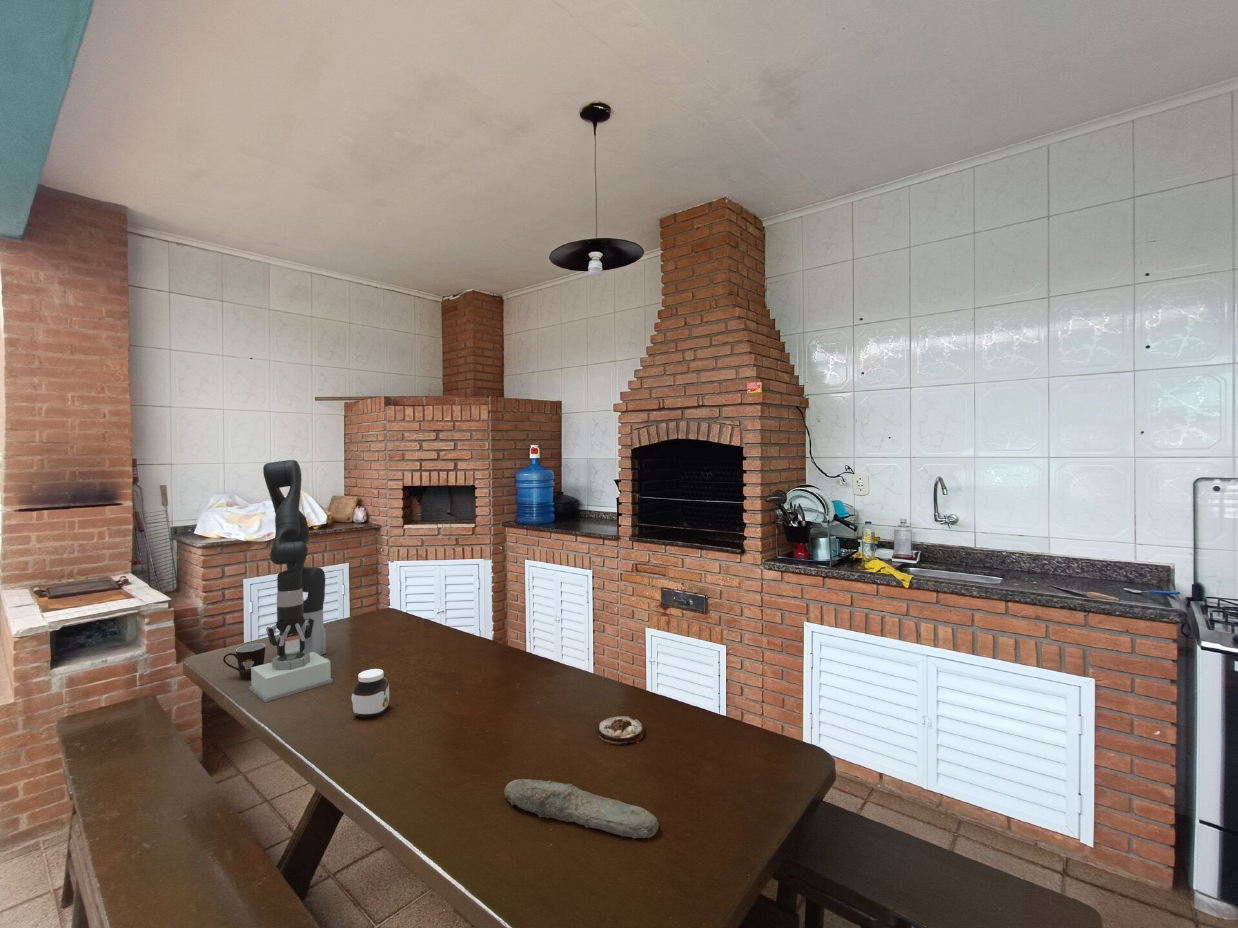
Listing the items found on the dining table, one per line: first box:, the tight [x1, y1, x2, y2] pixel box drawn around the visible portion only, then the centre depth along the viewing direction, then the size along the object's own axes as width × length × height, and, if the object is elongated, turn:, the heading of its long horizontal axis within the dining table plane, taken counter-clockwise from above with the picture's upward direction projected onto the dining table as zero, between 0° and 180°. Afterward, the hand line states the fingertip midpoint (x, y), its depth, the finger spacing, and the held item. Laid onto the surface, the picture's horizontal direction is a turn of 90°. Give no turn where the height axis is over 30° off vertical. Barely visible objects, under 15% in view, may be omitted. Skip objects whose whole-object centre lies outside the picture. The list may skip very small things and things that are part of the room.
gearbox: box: [248, 651, 334, 703], centre depth 187 cm, size 22×15×10 cm
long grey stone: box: [503, 778, 660, 839], centre depth 120 cm, size 35×5×10 cm
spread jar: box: [351, 668, 390, 719], centre depth 168 cm, size 12×11×12 cm
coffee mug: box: [222, 642, 267, 681], centre depth 194 cm, size 12×9×10 cm
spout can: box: [282, 633, 300, 661], centre depth 186 cm, size 5×5×10 cm
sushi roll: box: [596, 715, 645, 746], centre depth 153 cm, size 15×15×4 cm
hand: (291, 654), depth 186 cm, fingers closed on spout can, 5 cm apart
